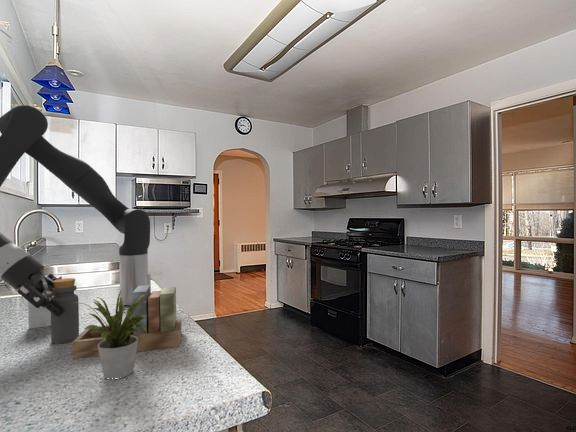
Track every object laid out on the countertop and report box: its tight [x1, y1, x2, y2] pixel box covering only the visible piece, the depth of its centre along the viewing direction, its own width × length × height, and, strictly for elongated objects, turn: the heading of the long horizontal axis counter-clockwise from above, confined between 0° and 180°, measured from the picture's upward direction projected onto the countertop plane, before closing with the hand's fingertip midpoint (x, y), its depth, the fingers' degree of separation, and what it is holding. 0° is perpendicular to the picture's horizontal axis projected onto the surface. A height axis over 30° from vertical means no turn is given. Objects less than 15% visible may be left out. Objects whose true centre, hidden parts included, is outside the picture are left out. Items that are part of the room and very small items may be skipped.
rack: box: [71, 285, 182, 359], centre depth 81 cm, size 22×10×13 cm, turn 105°
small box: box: [27, 275, 63, 329], centre depth 98 cm, size 8×6×13 cm
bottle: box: [50, 278, 80, 345], centre depth 85 cm, size 6×6×15 cm
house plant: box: [73, 290, 149, 379], centre depth 65 cm, size 14×14×16 cm
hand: (69, 309), depth 84 cm, fingers open, 8 cm apart
